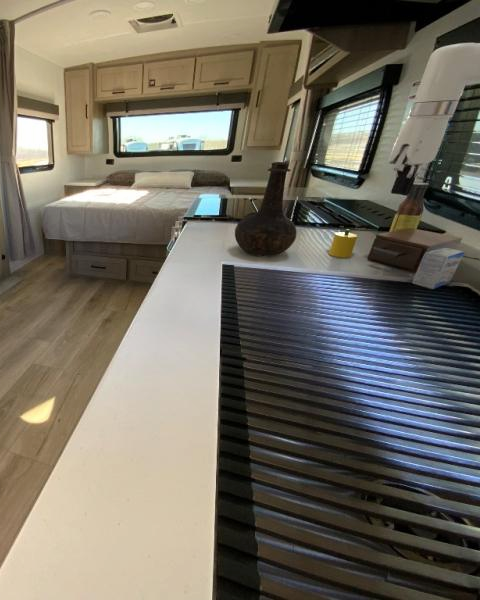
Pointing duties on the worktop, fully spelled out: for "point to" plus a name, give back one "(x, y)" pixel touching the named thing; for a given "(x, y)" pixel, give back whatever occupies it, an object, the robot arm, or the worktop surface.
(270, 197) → the glass bottle
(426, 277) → the medicine box
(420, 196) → the sauce bottle
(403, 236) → the cabinet
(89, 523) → the worktop surface
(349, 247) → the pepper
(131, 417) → the worktop surface
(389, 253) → the drawer
